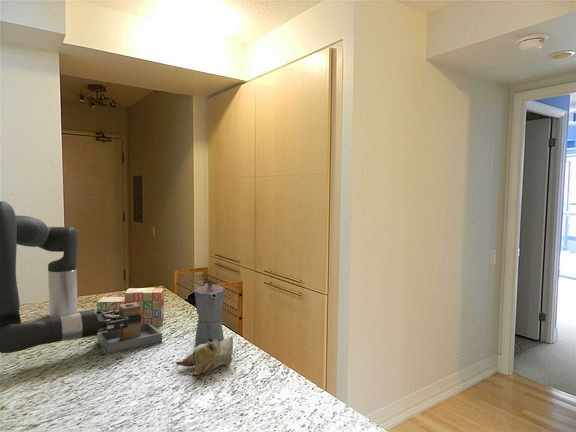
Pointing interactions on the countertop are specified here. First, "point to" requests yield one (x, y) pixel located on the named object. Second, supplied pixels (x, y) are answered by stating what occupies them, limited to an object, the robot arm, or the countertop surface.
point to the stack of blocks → (139, 303)
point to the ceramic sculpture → (209, 356)
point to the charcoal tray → (115, 345)
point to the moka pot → (209, 312)
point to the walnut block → (133, 328)
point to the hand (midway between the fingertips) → (136, 314)
